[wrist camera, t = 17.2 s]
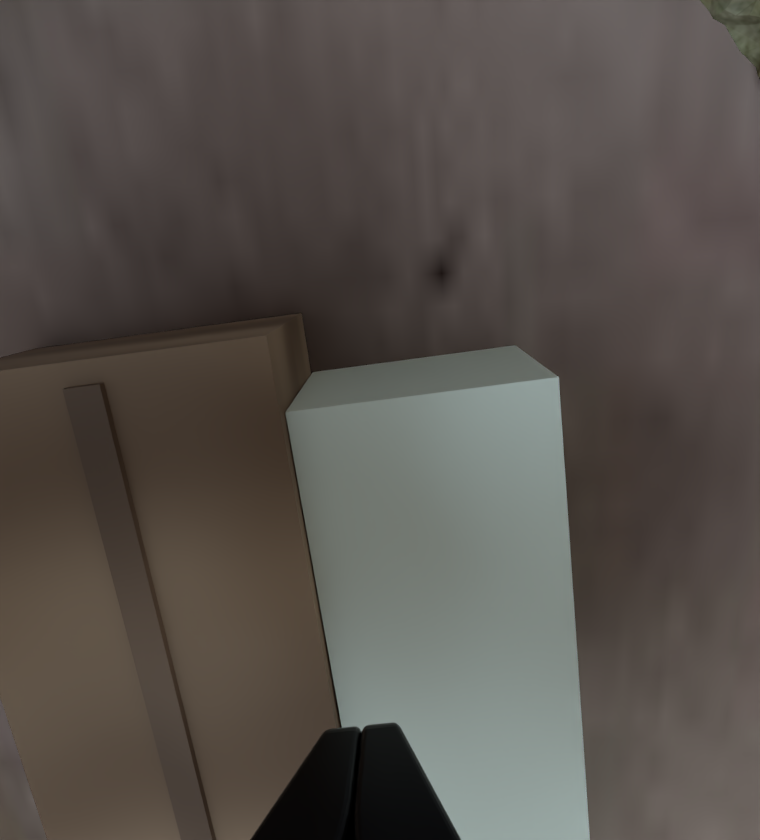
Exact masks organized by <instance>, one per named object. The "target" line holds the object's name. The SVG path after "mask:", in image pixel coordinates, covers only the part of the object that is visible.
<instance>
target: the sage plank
mask: <svg viewBox="0 0 760 840" xmlns="http://www.w3.org/2000/svg"><path fill="white" fill-rule="evenodd" d="M285 414H286V419H287V425H288V430H289V436H290V442H291V447H292V453H293V458H294V464H295V469H296V475H297V481H298V486H299V492H300V497H301V503H302V508H303V514H304V520H305V525H306V531H307V536H308V542H309V547H310V553H311V559H312V564H313V570H314V575H315V581H316V587H317V592H318V598H319V603H320V609H321V614H322V620H323V626H324V631H325V637H326V642H327V648H328V653H329V659H330V665H331V670H332V676H333V681H334V687H335V692H336V698H337V704H338V709H339V715H340V720H341V726H342V728H343V727H352V726H356V727H358V728H360V730H361V731H362V730H363V728H364V727H365V726H366V725H372V724H382V723H392V722H394V723H397V724H398V725H399V726H400V727H401V729H402V731H403V733H404V734H405V736H406V738H407V740H408V742H409V744H410V746H411V747H412V749H413V751H414V753H415V755H416V757H417V759H418V760H419V762H420V764H421V766H422V768H423V770H424V772H425V773H426V775H427V777H428V779H429V781H430V783H431V785H432V786H433V788H434V790H435V792H436V794H437V796H438V798H439V799H440V801H441V803H442V805H443V807H444V809H445V811H446V812H447V814H448V816H449V818H450V820H451V822H452V824H453V825H454V827H455V829H456V831H457V833H458V835H459V837H460V838H461V840H590V835H589V820H588V806H587V791H586V776H585V761H584V746H583V731H582V716H581V701H580V686H579V671H578V656H577V642H576V627H575V612H574V597H573V582H572V567H571V552H570V537H569V522H568V507H567V492H566V478H565V463H564V448H563V433H562V418H561V403H560V388H559V377H558V376H557V375H555V374H554V373H553V372H551V371H550V370H549V369H547V368H546V367H544V366H543V365H542V364H540V363H539V362H538V361H536V360H535V359H534V358H532V357H531V356H529V355H528V354H527V353H525V352H524V351H523V350H521V349H520V348H519V347H517V346H516V345H514V346H506V347H498V348H491V349H483V350H476V351H468V352H461V353H453V354H446V355H438V356H431V357H423V358H416V359H408V360H401V361H393V362H385V363H378V364H370V365H363V366H355V367H348V368H340V369H333V370H325V371H318V372H313V373H312V374H311V376H310V377H309V378H308V380H307V381H306V383H305V384H304V386H303V387H302V389H301V390H300V392H299V393H298V394H297V396H296V397H295V399H294V400H293V402H292V403H291V405H290V406H289V408H288V409H287V411H286V412H285Z"/></svg>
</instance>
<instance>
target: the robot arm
mask: <svg viewBox="0 0 760 840" xmlns="http://www.w3.org/2000/svg"><path fill="white" fill-rule="evenodd" d="M250 840H461V838H460V837H459V835H458V833H457V831H456V829H455V827H454V825H453V824H452V822H451V820H450V818H449V816H448V814H447V812H446V811H445V809H444V807H443V805H442V803H441V801H440V799H439V798H438V796H437V794H436V792H435V790H434V788H433V786H432V785H431V783H430V781H429V779H428V777H427V775H426V773H425V772H424V770H423V768H422V766H421V764H420V762H419V760H418V759H417V757H416V755H415V753H414V751H413V749H412V747H411V746H410V744H409V742H408V740H407V738H406V736H405V734H404V733H403V731H402V729H401V727H400V726H399V725H398V724H397V723H394V722H392V723H382V724H372V725H366V726H365V727H364V728H363V730H362V731H361V730H360V728H358V727H356V726H352V727H343V728H333V729H328V730H326V731H325V732H323V733H322V735H321V736H320V737H319V739H318V740H317V742H316V743H315V745H314V746H313V748H312V749H311V751H310V752H309V754H308V755H307V757H306V758H305V760H304V761H303V763H302V764H301V766H300V767H299V768H298V770H297V771H296V773H295V774H294V776H293V777H292V779H291V780H290V782H289V783H288V785H287V786H286V788H285V789H284V791H283V792H282V794H281V795H280V796H279V798H278V799H277V801H276V802H275V804H274V805H273V807H272V808H271V810H270V811H269V813H268V814H267V816H266V817H265V819H264V820H263V822H262V823H261V825H260V826H259V827H258V829H257V830H256V832H255V833H254V835H253V836H252V838H251V839H250Z"/></svg>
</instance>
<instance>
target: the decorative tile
mask: <svg viewBox="0 0 760 840" xmlns="http://www.w3.org/2000/svg"><path fill="white" fill-rule="evenodd" d="M700 1H701V2H702V3H703V4H704V6H705V7H706V8H707V9H708V10H709V12H710V14H711V15H712V17H713V19H715V20H717V21H719V22H721V23H722V24H724V25H725V26H726V28H727V29H728V31H729V33H730V35H731V37H732V38H733V40H734V42H735V43H736V45H737V47H738V49H739V50H740V52H741V53H742V54H743V55H745V56H746V57H747V58H748V59H749V61H750V62H751V63H752V64H753V65H754V66H755V67H756V69H757V74H758V76H759V79H760V0H700Z"/></svg>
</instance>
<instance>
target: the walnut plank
mask: <svg viewBox="0 0 760 840" xmlns="http://www.w3.org/2000/svg"><path fill="white" fill-rule="evenodd" d="M310 376H311V369H310V363H309V356H308V350H307V344H306V338H305V332H304V326H303V319H302V313H298V314H291V315H283V316H276V317H268V318H261V319H253V320H246V321H238V322H231V323H223V324H216V325H208V326H201V327H194V328H186V329H179V330H171V331H164V332H156V333H149V334H141V335H134V336H126V337H119V338H111V339H104V340H96V341H89V342H82V343H74V344H67V345H59V346H52V347H44V348H37V349H32V350H28V351H24V352H20V353H16V354H12V355H9V356H5V357H1V358H0V698H1V701H2V704H3V707H4V710H5V713H6V716H7V719H8V722H9V725H10V728H11V731H12V734H13V737H14V740H15V743H16V746H17V749H18V752H19V755H20V758H21V762H22V765H23V768H24V771H25V774H26V777H27V780H28V783H29V786H30V789H31V792H32V795H33V798H34V801H35V804H36V807H37V810H38V813H39V816H40V819H41V822H42V825H43V828H44V831H45V834H46V838H47V840H250V839H251V838H252V836H253V835H254V833H255V832H256V830H257V829H258V827H259V826H260V825H261V823H262V822H263V820H264V819H265V817H266V816H267V814H268V813H269V811H270V810H271V808H272V807H273V805H274V804H275V802H276V801H277V799H278V798H279V796H280V795H281V794H282V792H283V791H284V789H285V788H286V786H287V785H288V783H289V782H290V780H291V779H292V777H293V776H294V774H295V773H296V771H297V770H298V768H299V767H300V766H301V764H302V763H303V761H304V760H305V758H306V757H307V755H308V754H309V752H310V751H311V749H312V748H313V746H314V745H315V743H316V742H317V740H318V739H319V737H320V736H321V735H322V733H323V732H325V731H326V730H328V729H333V728H342V726H341V720H340V715H339V709H338V704H337V698H336V692H335V687H334V681H333V676H332V670H331V665H330V659H329V653H328V648H327V642H326V637H325V631H324V626H323V620H322V614H321V609H320V603H319V598H318V592H317V587H316V581H315V575H314V570H313V564H312V559H311V553H310V547H309V542H308V536H307V531H306V525H305V520H304V514H303V508H302V503H301V497H300V492H299V486H298V481H297V475H296V469H295V464H294V458H293V453H292V447H291V442H290V436H289V430H288V425H287V419H286V414H285V412H286V411H287V409H288V408H289V406H290V405H291V403H292V402H293V400H294V399H295V397H296V396H297V394H298V393H299V392H300V390H301V389H302V387H303V386H304V384H305V383H306V381H307V380H308V378H309V377H310Z"/></svg>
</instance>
